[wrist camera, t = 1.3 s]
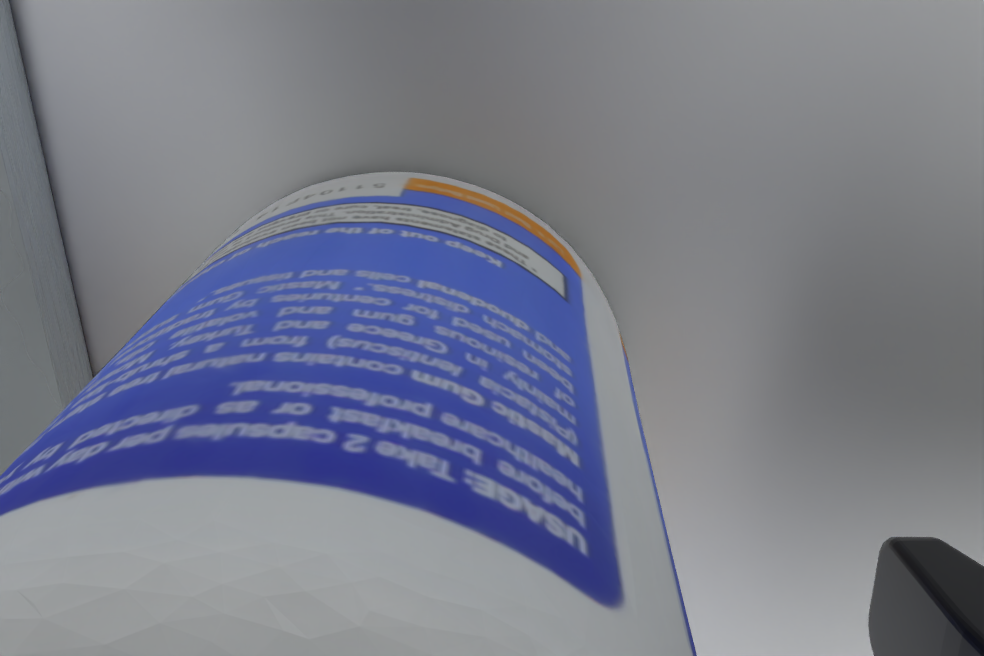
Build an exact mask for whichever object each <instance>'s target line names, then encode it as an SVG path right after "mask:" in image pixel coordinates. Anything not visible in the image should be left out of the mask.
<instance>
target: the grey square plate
mask: <svg viewBox="0 0 984 656" xmlns="http://www.w3.org/2000/svg"><path fill="white" fill-rule="evenodd" d="M92 379H93V376H92V372H91V367H90V363H89V358H88V354H87V349H86V345H85V340H84V336H83V331H82V327H81V322H80V318H79V313H78V309H77V304H76V300H75V295H74V291H73V286H72V282H71V277H70V273H69V269H68V264H67V260H66V255H65V251H64V246H63V242H62V237H61V233H60V228H59V224H58V219H57V215H56V210H55V206H54V201H53V197H52V192H51V188H50V183H49V179H48V174H47V170H46V165H45V161H44V156H43V152H42V147H41V143H40V138H39V134H38V130H37V125H36V121H35V116H34V112H33V107H32V103H31V98H30V94H29V89H28V85H27V80H26V76H25V71H24V67H23V62H22V58H21V53H20V49H19V44H18V40H17V35H16V31H15V26H14V22H13V17H12V13H11V8H10V4H9V0H0V476H1V475H2V474H3V473H4V472H5V471H6V469H7V468H8V467H9V466H10V465H11V464H12V463H13V462H14V461H15V460H16V459H17V458H18V457H19V456H20V455H21V453H23V452H24V451H25V450H26V449H27V448H28V447H29V446H30V445H31V444H32V443H33V442H34V441H35V440H36V439H37V438H38V437H39V435H40V434H41V433H42V432H43V431H44V430H45V429H46V428H47V427H48V426H49V425H50V424H51V423H52V421H53V420H54V419H55V418H56V417H57V416H58V415H59V414H60V413H61V412H62V411H63V410H64V409H65V408H66V406H67V405H68V404H69V403H70V402H71V401H72V400H73V399H74V398H75V397H76V396H77V395H78V394H79V393H80V392H81V391H82V390H83V389H84V387H85V386H86V385H87V384H88V383H89V382H90V381H91V380H92Z"/></svg>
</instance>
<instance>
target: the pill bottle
mask: <svg viewBox="0 0 984 656" xmlns="http://www.w3.org/2000/svg"><path fill="white" fill-rule="evenodd" d="M0 656H697V655H696V651H695V647H694V643H693V639H692V635H691V631H690V627H689V622H688V618H687V614H686V610H685V606H684V602H683V598H682V594H681V589H680V585H679V581H678V577H677V573H676V569H675V565H674V560H673V556H672V552H671V548H670V544H669V539H668V535H667V531H666V527H665V522H664V518H663V514H662V510H661V505H660V501H659V497H658V493H657V488H656V484H655V480H654V476H653V471H652V467H651V463H650V459H649V454H648V450H647V445H646V441H645V436H644V431H643V427H642V422H641V418H640V413H639V409H638V404H637V400H636V396H635V392H634V388H633V383H632V378H631V373H630V368H629V363H628V358H627V355H626V351H625V348H624V344H623V341H622V338H621V335H620V332H619V328H618V325H617V322H616V320H615V317H614V315H613V313H612V310H611V308H610V306H609V303H608V301H607V299H606V297H605V295H604V293H603V292H602V290H601V288H600V286H599V284H598V283H597V281H596V279H595V277H594V276H593V274H592V273H591V272H590V270H589V269H588V267H587V266H586V265H585V263H584V262H583V261H582V259H581V258H580V257H579V256H578V255H577V253H576V252H575V251H574V250H573V249H572V247H571V246H570V245H569V244H568V243H567V242H566V241H565V240H564V239H563V238H562V237H560V236H559V235H558V234H557V233H556V232H555V231H554V230H553V229H552V228H551V227H550V226H549V225H547V224H546V223H545V222H543V221H542V220H540V219H539V218H537V217H536V216H535V215H533V214H532V213H530V212H529V211H527V210H526V209H524V208H522V207H521V206H519V205H518V204H516V203H514V202H512V201H510V200H508V199H506V198H504V197H502V196H500V195H498V194H496V193H494V192H491V191H489V190H486V189H484V188H481V187H478V186H476V185H473V184H469V183H466V182H462V181H459V180H455V179H451V178H448V177H443V176H437V175H431V174H424V173H414V172H375V173H366V174H359V175H352V176H346V177H341V178H337V179H332V180H328V181H325V182H321V183H318V184H314V185H311V186H308V187H306V188H303V189H301V190H298V191H296V192H294V193H292V194H290V195H288V196H286V197H284V198H282V199H280V200H278V201H276V202H274V203H272V204H271V205H269V206H268V207H266V208H265V209H263V210H262V211H260V212H259V213H258V214H256V215H255V216H253V217H252V218H251V219H249V220H248V221H246V222H245V223H244V224H243V225H242V226H240V227H239V228H238V229H237V230H236V231H235V232H234V233H232V234H231V235H230V236H229V237H228V238H227V239H226V240H225V241H224V242H223V243H222V244H221V245H220V246H219V247H217V248H216V249H215V250H214V252H213V253H212V254H211V255H210V256H209V257H208V258H207V259H206V260H205V261H204V262H203V263H202V264H201V266H200V267H199V268H198V269H197V270H196V271H195V272H194V273H193V274H192V275H191V276H190V277H189V278H188V279H187V280H186V281H185V282H184V283H183V284H182V285H181V286H180V287H179V288H178V289H177V290H176V291H175V293H174V294H173V295H172V296H171V297H170V298H169V299H168V300H167V301H166V302H165V303H164V304H163V305H162V307H161V308H160V309H159V310H158V311H157V312H156V313H155V314H154V315H153V316H152V317H151V318H150V319H149V320H148V321H147V322H146V324H145V325H144V326H143V327H142V328H141V329H140V330H139V331H138V332H137V333H136V334H135V335H134V336H133V337H132V338H131V339H130V340H129V342H128V343H127V344H126V345H125V346H124V347H123V348H122V349H121V350H120V351H119V352H118V353H117V354H116V355H115V356H114V357H113V358H112V359H111V360H110V361H109V362H108V363H107V364H106V366H105V367H104V368H103V369H102V370H101V371H100V372H99V373H98V374H97V375H96V376H95V377H94V378H93V379H92V380H91V381H90V382H89V383H88V384H87V385H86V386H85V387H84V389H83V390H82V391H81V392H80V393H79V394H78V395H77V396H76V397H75V398H74V399H73V400H72V401H71V402H70V403H69V404H68V405H67V406H66V408H65V409H64V410H63V411H62V412H61V413H60V414H59V415H58V416H57V417H56V418H55V419H54V420H53V421H52V423H51V424H50V425H49V426H48V427H47V428H46V429H45V430H44V431H43V432H42V433H41V434H40V435H39V437H38V438H37V439H36V440H35V441H34V442H33V443H32V444H31V445H30V446H29V447H28V448H27V449H26V450H25V451H24V452H23V453H21V455H20V456H19V457H18V458H17V459H16V460H15V461H14V462H13V463H12V464H11V465H10V466H9V467H8V468H7V469H6V471H5V472H4V473H3V474H2V475H1V476H0Z"/></svg>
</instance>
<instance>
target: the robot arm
mask: <svg viewBox="0 0 984 656" xmlns="http://www.w3.org/2000/svg"><path fill="white" fill-rule="evenodd" d="M868 626H869V636H870V642H871V646H872V650H873V654H874V656H984V566H982V565H981V564H979V563H977V562H976V561H974V560H973V559H971V558H969V557H968V556H966V555H965V554H963V553H961V552H960V551H958V550H957V549H955V548H953V547H952V546H950V545H949V544H947V543H945V542H944V541H942V540H940V539H937V538H933V537H891V538H889V539H888V540H886V541H885V542H884V543H883V545H882V547H881V549H880V553H879V557H878V563H877V569H876V575H875V581H874V587H873V593H872V599H871V605H870V611H869V622H868Z"/></svg>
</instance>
